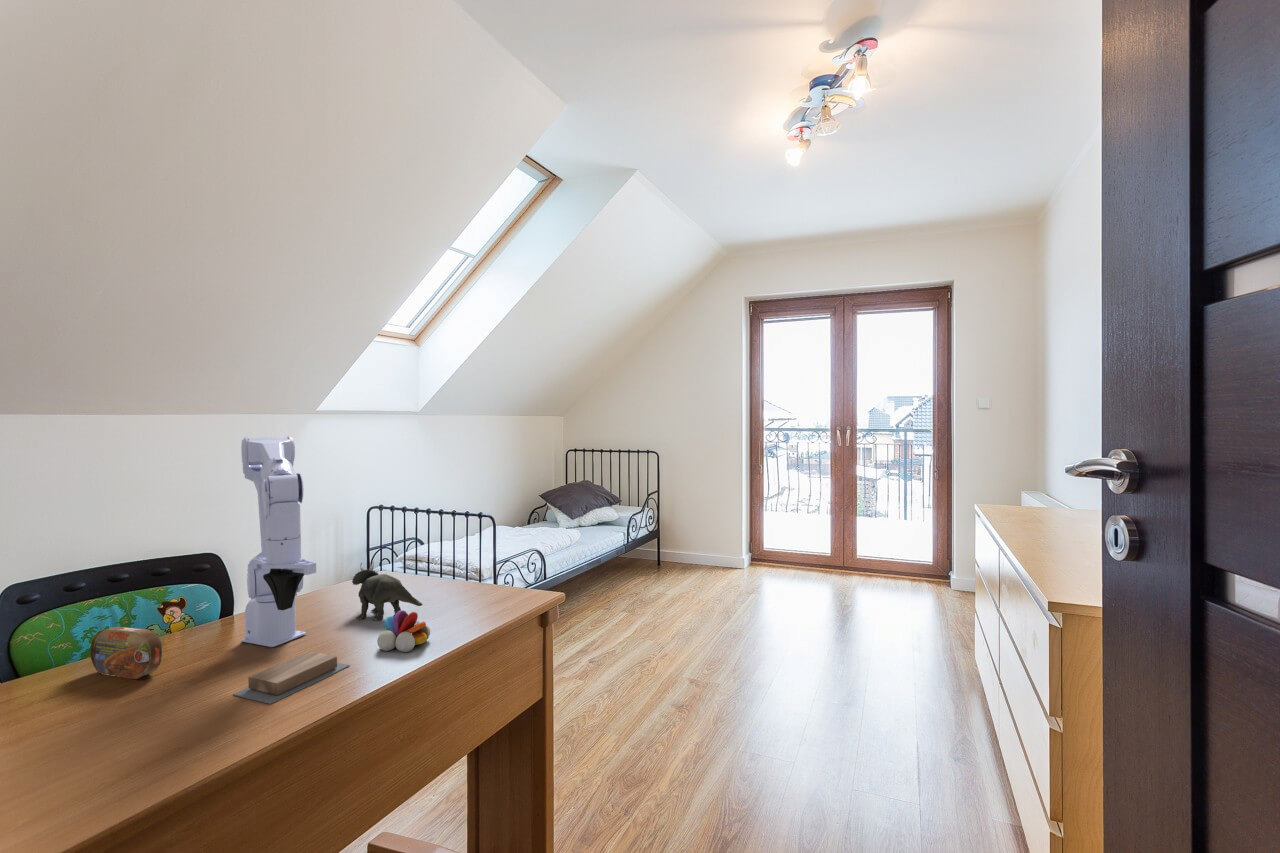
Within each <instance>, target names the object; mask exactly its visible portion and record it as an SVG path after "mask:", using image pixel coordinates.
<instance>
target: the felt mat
mask: <svg viewBox="0 0 1280 853" xmlns="http://www.w3.org/2000/svg"><path fill="white" fill-rule="evenodd" d="M350 666H351V665H350V664H346V663H341V662H337V667H336V668H334V669H332V670H330V671H328V672H326V673H324V674H322V675H320V676H318V677H315V678H313V679H311V680H309V681H307V682H305V683H303V684H301V685H298V686H296V687H294V688H292V689H290V690H288V691H286V692H284V693H281V694H279V695H275V694H271V693H266V692H262V691H258V690H253V689H249V686H248V687H245V688H244V689H241V690H239V691H237V692H234V693H232V696H235V697H238V698H243V699H248V700H252V701H256V702H260V703H265V704H267V705H268V704H269V705H273V704H274V703H276V702H278V701H280V700H282V699H284V698H286V697H288V696H290V695H293V694H295V693H297V692H299V691H301V690H303V689H305V688H307V687H309V686H311V685H313V684H316V683H318V682H319V681H322V680H324V679H325V678H328V677H330V676H332V675H335V674H337V673H338V672H341V671H343V670H344V669H347V668H349V667H350Z"/></svg>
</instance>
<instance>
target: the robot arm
mask: <svg viewBox="0 0 1280 853" xmlns="http://www.w3.org/2000/svg"><path fill="white" fill-rule="evenodd" d="M295 457H296V447H295V440H294V438H293V437H292V436H277V437H276V436H275V437H274V436H273V437H247V436H246V437H244V438H243V439H242V440H241V462H242V474H244V479H246V480H249V481H251V482H253V484H254V486H255V489H256V493H257V503H258V518H259V530H260V531H259V532H260V533H259V534H260V546H261V552H259V553H258V554H257V555H255V556H253V558H252V559H251V560H250V561H249V563H248V564H247V573H246V582H247V583H246V584H247V596H248V598H250V599H249V601H248V603H247V604H246V606H245V609H244V633H245V634H244V635H245V637H244V638H242V639H240V640H241V642H244V643H248V644H254V645H258V646H264V647H267V648H268V647H269V648H273V647H277V646H279V645H283V644H284V643H287V642H290V641H292V640H295V639H298V638H300V637H303V636H305V635H306V634H307V632H306V631H301V630H297V617H296V614H297V611H296V608H297V604H296V597H297V596H298V593H300V592H301V590H303V587H304V576H305V575H306V576H309V575H313V574H316V573H317V562H314V561H311V560H308V559H305V558H303V557H302V538H301V537H302V536H301V535H302V531H301V528H302V527H301V504H302V503H303V499H304V481H303V477H302V474H301V473H299V472H298V473H296V472H295V470H294V461H295V459H296V458H295Z"/></svg>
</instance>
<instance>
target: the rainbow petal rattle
mask: <svg viewBox="0 0 1280 853" xmlns="http://www.w3.org/2000/svg"><path fill="white" fill-rule="evenodd" d="M394 614H395V613H394ZM393 616H394V615H392V616H388V617H386V618H385V620H384V622H383V623H384V624H383V626H384V628H385V629H384V630H382V631H381V633H380V634H379V635H378V637H377V640H376V642H377V646H378V648H379V649H380V650H382V651H384V652H385V651H386V652H387V651H388V652H389V651H392V650H393V649H394V648H396V649H397V650H398V651H399V652H402V653H409V652H411V651H412V650H413V649H414V647H415V645H422V644H424V643H426V641H427V640H428V639H429V638H430V635H431V629H430V626H429V625H428V624H427V623H426V621H425V620H424V621H421V622H418V623H417V621H418V617H419V616H418V613H417V612H416V611H411V612H409V614H408V613H407V611H405V610H403V609H401V610H400V611H398V612H397V613H396V614H395V617H393Z"/></svg>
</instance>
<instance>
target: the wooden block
mask: <svg viewBox="0 0 1280 853" xmlns="http://www.w3.org/2000/svg"><path fill="white" fill-rule="evenodd" d="M337 663H338V656H336V655H332V654H327V653H321V652H315V651H312V650H309V651H307V652H304V653H302V654H300V655H299V654H298V655H297V656H295V657H293V658H290V659H288V660H286V661H282V662H281V663H279V664H276V665H273V666H271V667H269V668H266V669H264V670H262V671H260V672H257V673H254V674H251V675H250V676H248V679H247V680H248V687H249V689H253V690H258V691H262V692H266V693H271V694H275V695H279V694H281V693H284V692H286V691H288V690H290V689H292V688H294V687H296V686H298V685H301V684H303V683H305V682H307V681H309V680H311V679H313V678H315V677H318V676H320V675H322V674H324V673H326V672H328V671H330V670H332V669H334V668H336V667H337Z"/></svg>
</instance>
